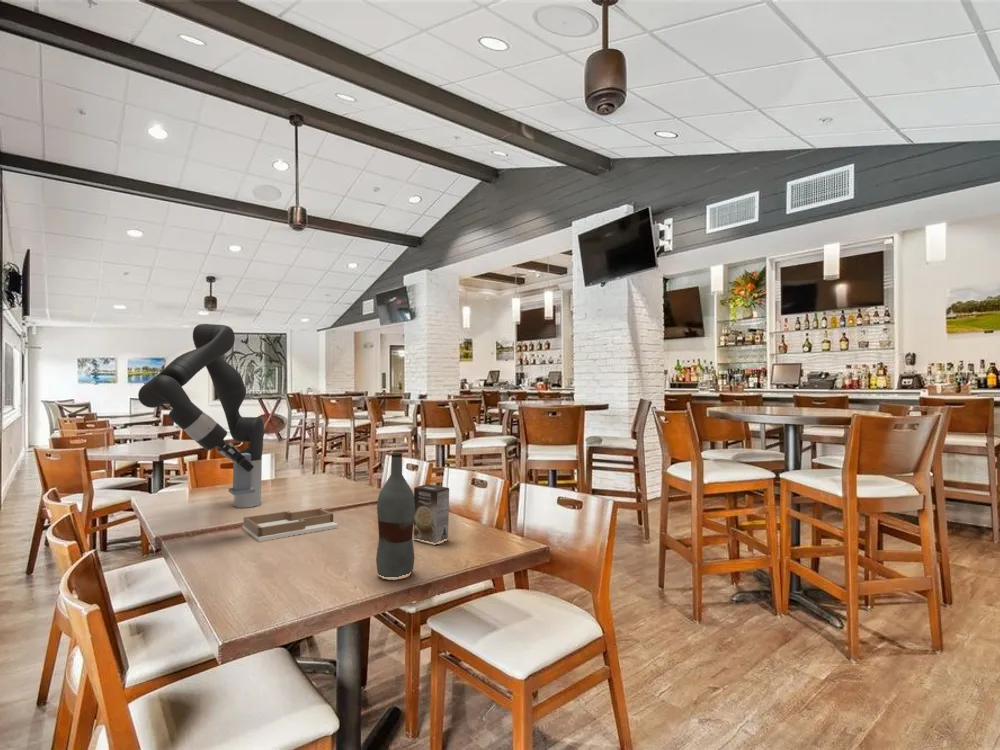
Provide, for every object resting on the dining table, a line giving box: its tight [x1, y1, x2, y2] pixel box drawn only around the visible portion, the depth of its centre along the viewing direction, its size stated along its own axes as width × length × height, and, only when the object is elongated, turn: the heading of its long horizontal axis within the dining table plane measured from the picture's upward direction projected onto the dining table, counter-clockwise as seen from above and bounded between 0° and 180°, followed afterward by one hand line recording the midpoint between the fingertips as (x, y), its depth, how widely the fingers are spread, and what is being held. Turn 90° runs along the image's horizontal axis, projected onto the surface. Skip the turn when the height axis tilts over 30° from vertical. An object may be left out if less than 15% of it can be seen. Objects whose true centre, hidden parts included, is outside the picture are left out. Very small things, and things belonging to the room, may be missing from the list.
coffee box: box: [412, 483, 450, 543], centre depth 159 cm, size 9×6×16 cm
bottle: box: [375, 451, 416, 577], centre depth 131 cm, size 9×9×30 cm
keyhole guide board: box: [242, 507, 339, 543], centre depth 170 cm, size 18×24×4 cm
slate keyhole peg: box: [228, 453, 255, 496], centre depth 161 cm, size 6×6×12 cm
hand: (249, 468), depth 162 cm, fingers closed on slate keyhole peg, 4 cm apart
